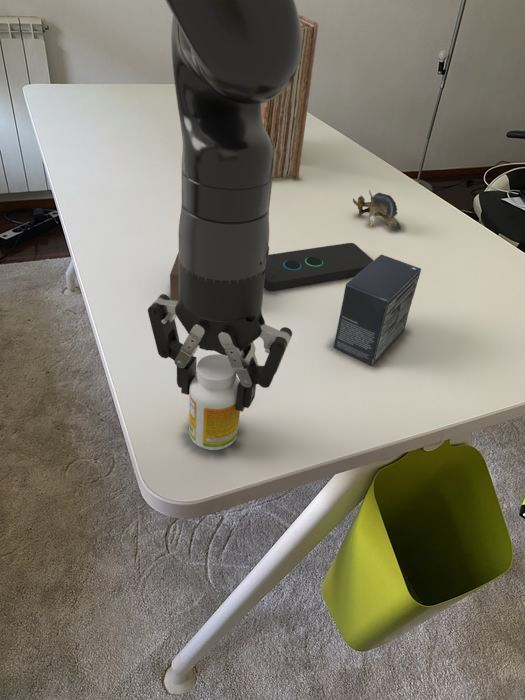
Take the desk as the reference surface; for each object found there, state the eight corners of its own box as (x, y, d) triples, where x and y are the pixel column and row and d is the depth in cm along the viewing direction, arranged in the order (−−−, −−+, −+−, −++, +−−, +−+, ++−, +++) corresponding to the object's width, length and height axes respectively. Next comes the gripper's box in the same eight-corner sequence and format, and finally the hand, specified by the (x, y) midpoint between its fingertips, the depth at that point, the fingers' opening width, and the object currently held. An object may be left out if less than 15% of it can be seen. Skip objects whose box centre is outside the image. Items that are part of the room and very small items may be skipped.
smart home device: (248, 256, 89) (352, 241, 96) (247, 265, 90) (350, 249, 97) (269, 282, 83) (379, 264, 91) (268, 292, 84) (376, 273, 92)
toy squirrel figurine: (347, 220, 104) (393, 225, 100) (355, 182, 104) (402, 186, 100) (359, 229, 111) (403, 234, 107) (367, 193, 110) (411, 198, 106)
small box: (365, 313, 82) (380, 251, 76) (405, 331, 79) (424, 268, 73) (330, 347, 75) (343, 281, 69) (372, 367, 72) (391, 301, 66)
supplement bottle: (247, 429, 62) (254, 363, 56) (219, 459, 58) (223, 392, 52) (208, 408, 64) (211, 342, 57) (178, 436, 60) (178, 369, 54)
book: (298, 180, 121) (319, 23, 102) (259, 182, 118) (273, 21, 99) (258, 140, 139) (269, 1, 120) (223, 142, 136) (229, -1, 117)
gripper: (125, 253, 45) (135, 401, 56) (291, 296, 43) (269, 443, 53) (165, 218, 51) (168, 358, 62) (315, 254, 48) (291, 394, 59)
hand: (215, 396), depth 57 cm, fingers closed on supplement bottle, 5 cm apart
